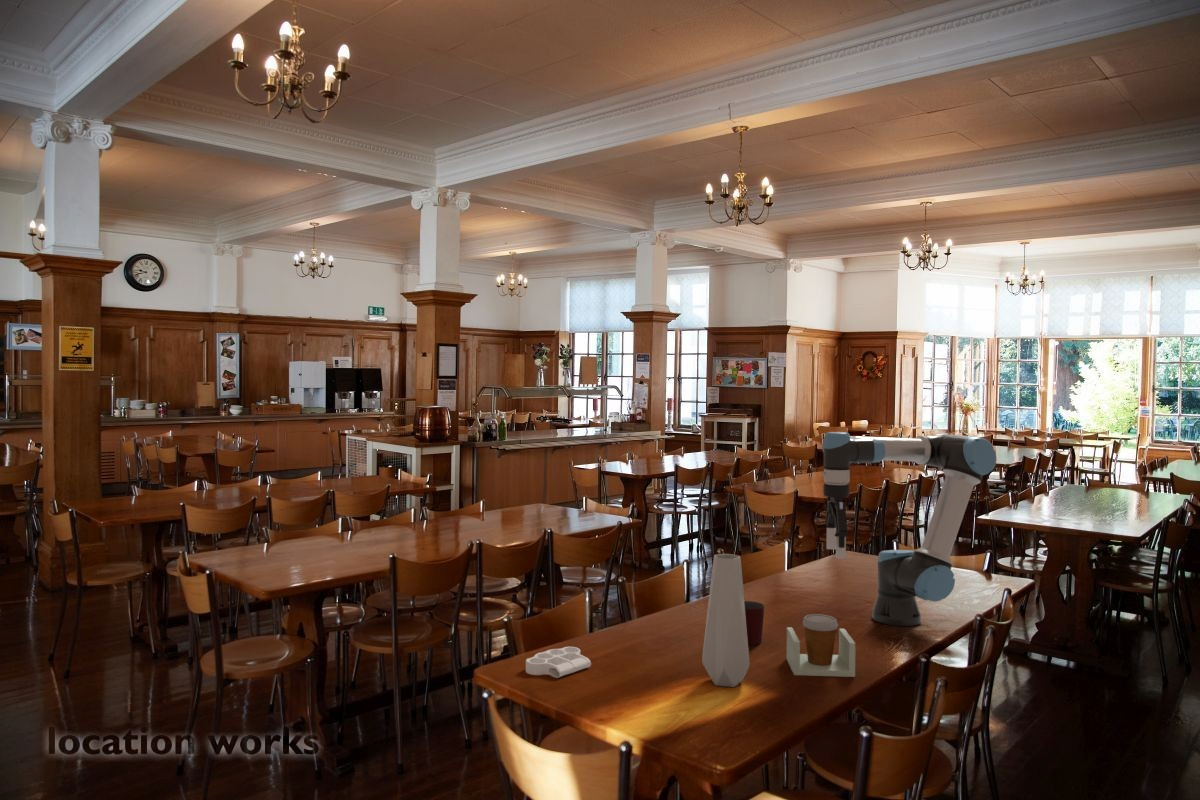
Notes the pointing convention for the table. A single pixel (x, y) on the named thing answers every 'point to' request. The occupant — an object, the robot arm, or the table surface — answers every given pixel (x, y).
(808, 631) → the disposable coffee cup
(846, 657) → the holder
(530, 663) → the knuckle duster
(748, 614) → the mug
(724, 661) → the vase
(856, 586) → the table surface
